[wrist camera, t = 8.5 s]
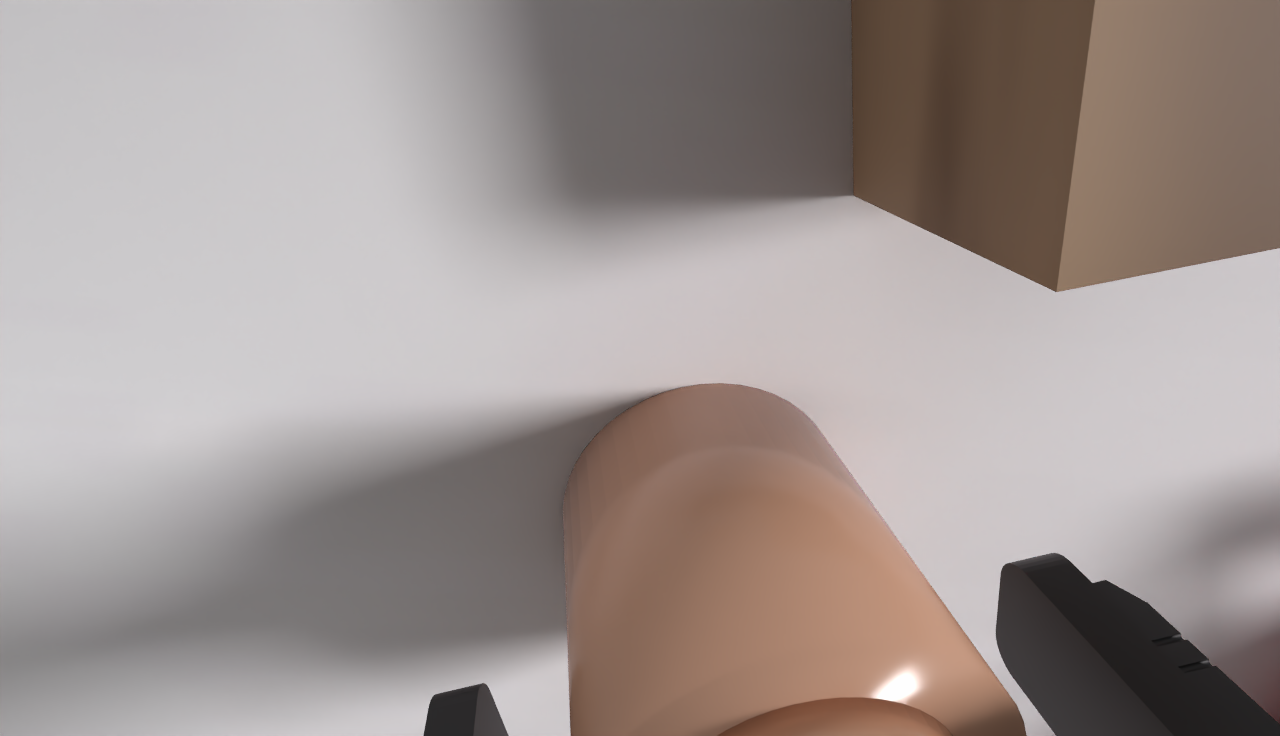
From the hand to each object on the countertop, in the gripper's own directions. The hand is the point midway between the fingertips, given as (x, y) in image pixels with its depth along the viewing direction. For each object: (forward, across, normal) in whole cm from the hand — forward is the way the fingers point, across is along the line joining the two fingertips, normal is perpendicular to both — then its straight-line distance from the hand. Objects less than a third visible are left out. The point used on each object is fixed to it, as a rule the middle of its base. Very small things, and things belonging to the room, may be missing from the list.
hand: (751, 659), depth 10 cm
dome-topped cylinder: (+4, 0, 0) cm, 4 cm away
